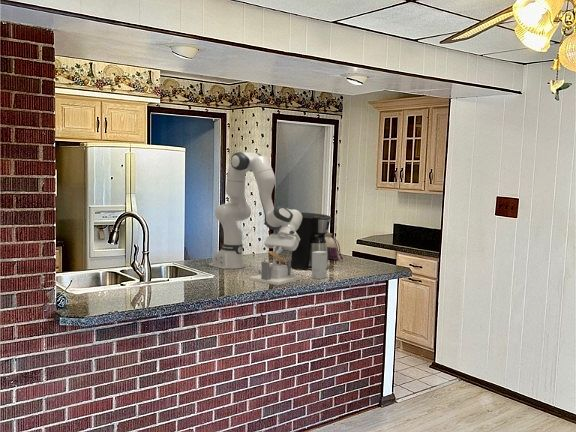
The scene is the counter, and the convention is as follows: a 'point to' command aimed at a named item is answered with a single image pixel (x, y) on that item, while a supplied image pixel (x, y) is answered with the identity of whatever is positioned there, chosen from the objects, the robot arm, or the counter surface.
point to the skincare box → (319, 264)
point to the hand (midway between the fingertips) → (275, 254)
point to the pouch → (332, 247)
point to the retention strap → (277, 256)
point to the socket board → (276, 281)
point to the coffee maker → (310, 240)
